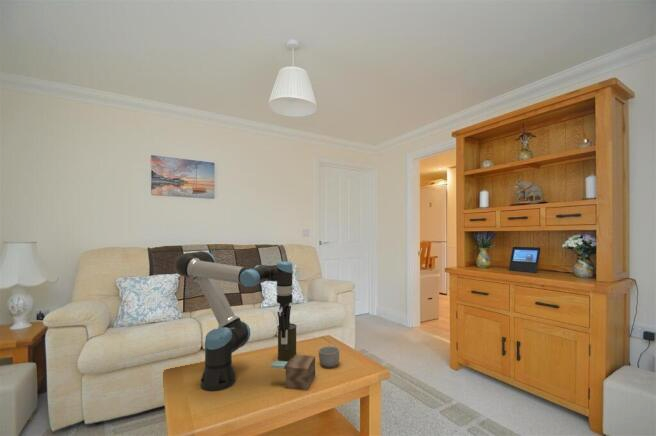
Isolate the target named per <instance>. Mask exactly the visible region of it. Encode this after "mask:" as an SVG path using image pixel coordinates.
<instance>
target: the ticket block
mask: <svg viewBox="0 0 656 436" xmlns="http://www.w3.org/2000/svg"><path fill="white" fill-rule="evenodd" d="M315 377H316V356H315V355H306V354H304V355H303V354H296V355H295V356H294V357H293V358H292V359H291V361H290V362H289V363H288V365H287V366H286V369H285V388H286V389H292V390H303V391H308V389H309V388H310V386H311V384H312V382H313V381H314V379H315Z"/></svg>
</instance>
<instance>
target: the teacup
mask: <svg viewBox="0 0 656 436" xmlns="http://www.w3.org/2000/svg"><path fill="white" fill-rule="evenodd" d="M318 358H319V360H318V361H319V363H320V364H321V365H322V366H323V367H324V368H333V367H335V366H337V365H338V363H339V361H340V348H339V347H337V346H335V345H330V344H328V345H326V346H322V347H320V348H318Z"/></svg>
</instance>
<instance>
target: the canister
mask: <svg viewBox="0 0 656 436" xmlns="http://www.w3.org/2000/svg"><path fill="white" fill-rule="evenodd" d="M288 328H289V329H287V330H288V339H287V344H281V331H279V324H278V325H277V361H285V362H288V361H289V360H290V359H291V358H293V357H294V356H295V355H297V325H296V324H295V323H291V322H289V327H288Z"/></svg>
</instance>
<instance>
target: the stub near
mask: <svg viewBox="0 0 656 436" xmlns="http://www.w3.org/2000/svg"><path fill="white" fill-rule="evenodd" d="M288 363H289V362H285V361H279V360H274V361H273V362H272V363H271V364H270V368H271V369H279V370H286V366H287V365H288Z"/></svg>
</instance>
